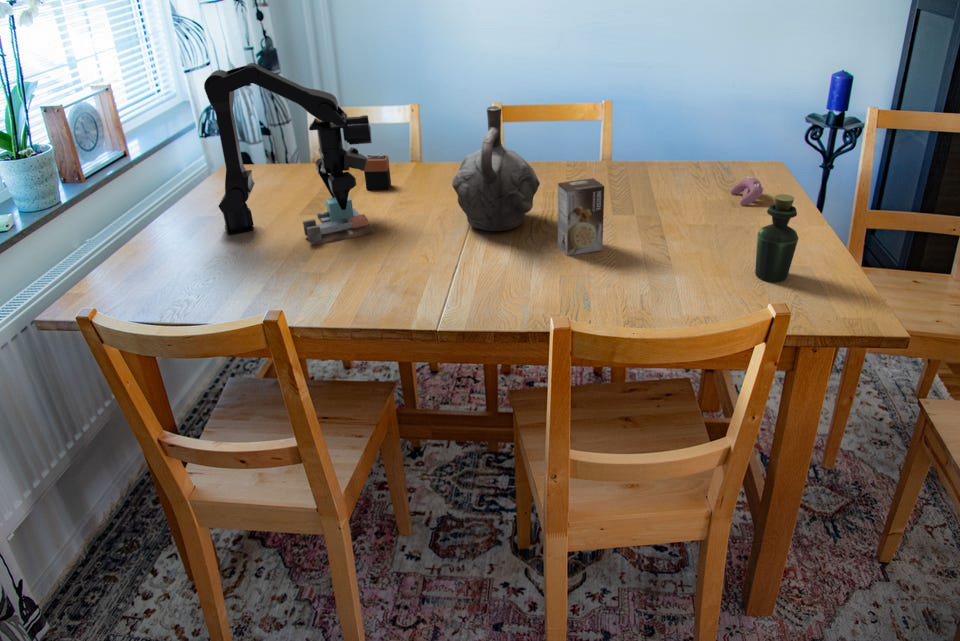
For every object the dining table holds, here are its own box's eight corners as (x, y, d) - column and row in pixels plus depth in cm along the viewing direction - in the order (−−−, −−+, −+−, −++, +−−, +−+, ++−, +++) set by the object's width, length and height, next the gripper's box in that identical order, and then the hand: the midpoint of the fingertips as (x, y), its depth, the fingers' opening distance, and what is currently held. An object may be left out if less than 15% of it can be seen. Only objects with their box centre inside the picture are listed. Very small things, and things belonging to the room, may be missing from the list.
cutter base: (310, 245, 186) (307, 229, 184) (305, 237, 191) (302, 220, 189) (374, 232, 192) (372, 216, 189) (367, 224, 196) (365, 209, 194)
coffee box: (592, 240, 182) (594, 177, 174) (602, 250, 177) (606, 186, 169) (556, 246, 181) (557, 182, 172) (566, 256, 175) (567, 191, 167)
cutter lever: (311, 236, 187) (310, 230, 186) (309, 232, 189) (307, 225, 188) (368, 224, 192) (367, 218, 191) (364, 220, 194) (363, 214, 193)
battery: (389, 190, 219) (385, 156, 214) (366, 190, 219) (362, 157, 214) (391, 184, 223) (388, 152, 218) (368, 185, 223) (365, 152, 218)
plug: (320, 224, 195) (317, 206, 193) (316, 219, 199) (314, 201, 196) (353, 217, 198) (351, 200, 196) (349, 212, 202) (347, 195, 199)
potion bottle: (744, 276, 163) (756, 198, 154) (762, 264, 168) (775, 187, 159) (779, 288, 158) (794, 207, 149) (797, 275, 163) (812, 196, 154)
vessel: (548, 241, 183) (549, 118, 168) (458, 248, 181) (451, 124, 166) (532, 205, 204) (531, 93, 189) (451, 211, 202) (445, 98, 188)
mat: (327, 231, 194) (326, 227, 193) (318, 218, 202) (318, 214, 201) (364, 223, 197) (364, 220, 197) (354, 211, 205) (354, 207, 205)
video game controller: (753, 211, 198) (769, 188, 195) (739, 205, 197) (754, 181, 194) (742, 198, 207) (756, 176, 204) (728, 191, 206) (742, 169, 203)
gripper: (372, 150, 184) (379, 210, 192) (352, 131, 199) (359, 187, 207) (328, 157, 181) (336, 218, 189) (311, 138, 196) (319, 195, 203)
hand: (339, 203), depth 197 cm, fingers open, 9 cm apart
